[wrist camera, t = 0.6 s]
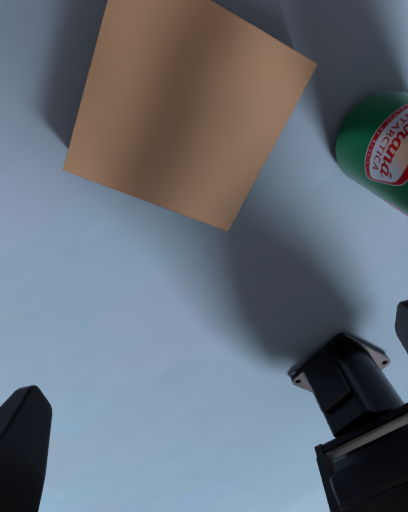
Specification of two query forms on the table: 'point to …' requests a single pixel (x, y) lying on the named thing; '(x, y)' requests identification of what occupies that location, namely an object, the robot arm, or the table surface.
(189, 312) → the table surface
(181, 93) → the tan block
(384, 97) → the soda can
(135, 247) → the table surface
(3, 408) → the robot arm
